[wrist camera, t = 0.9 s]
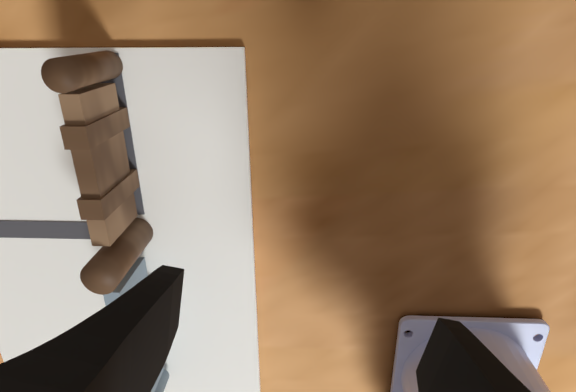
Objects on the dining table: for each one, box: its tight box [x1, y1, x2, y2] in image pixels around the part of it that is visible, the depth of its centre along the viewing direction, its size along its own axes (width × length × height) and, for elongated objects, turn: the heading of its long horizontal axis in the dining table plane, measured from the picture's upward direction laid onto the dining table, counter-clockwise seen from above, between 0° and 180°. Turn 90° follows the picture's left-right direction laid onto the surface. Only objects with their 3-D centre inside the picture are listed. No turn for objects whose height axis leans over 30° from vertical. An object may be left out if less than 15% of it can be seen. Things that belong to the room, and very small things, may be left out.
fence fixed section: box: [41, 50, 153, 295], centre depth 18 cm, size 10×2×4 cm, turn 0°
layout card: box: [0, 47, 261, 392], centre depth 22 cm, size 21×16×1 cm
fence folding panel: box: [103, 257, 169, 392], centre depth 21 cm, size 9×1×4 cm, turn 0°
